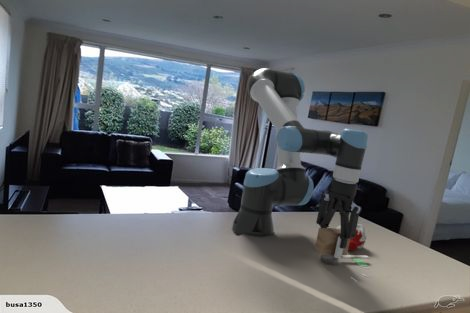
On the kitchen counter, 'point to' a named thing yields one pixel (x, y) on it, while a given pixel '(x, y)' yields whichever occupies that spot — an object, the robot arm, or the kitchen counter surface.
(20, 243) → the kitchen counter surface
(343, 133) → the robot arm
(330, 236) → the knob
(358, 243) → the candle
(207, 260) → the kitchen counter surface
